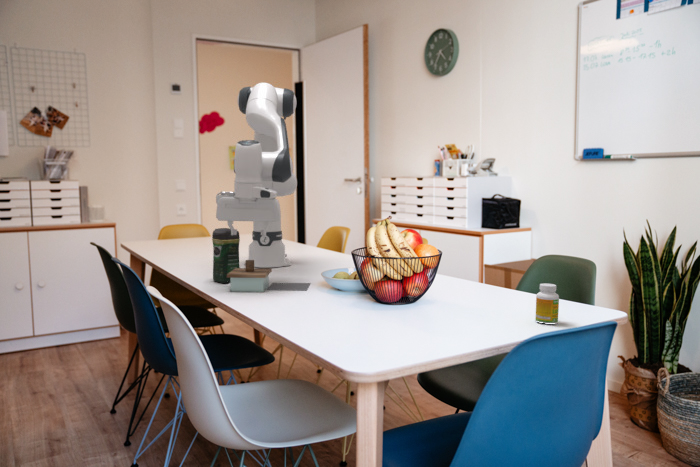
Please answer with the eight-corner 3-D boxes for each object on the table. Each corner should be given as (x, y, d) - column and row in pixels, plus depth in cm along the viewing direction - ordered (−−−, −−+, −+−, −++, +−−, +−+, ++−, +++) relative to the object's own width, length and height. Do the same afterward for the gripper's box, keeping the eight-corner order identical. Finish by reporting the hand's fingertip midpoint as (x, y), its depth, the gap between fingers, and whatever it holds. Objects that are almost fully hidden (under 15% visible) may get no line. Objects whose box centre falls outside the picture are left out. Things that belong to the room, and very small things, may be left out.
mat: (272, 283, 195) (272, 282, 194) (310, 284, 194) (310, 283, 194) (265, 291, 182) (265, 290, 182) (306, 292, 181) (306, 290, 181)
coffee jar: (244, 282, 198) (243, 228, 196) (223, 284, 192) (222, 229, 190) (229, 278, 205) (228, 226, 203) (209, 280, 199) (208, 227, 197)
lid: (235, 271, 190) (235, 257, 189) (271, 271, 190) (271, 258, 189) (226, 277, 178) (226, 263, 177) (265, 277, 178) (265, 263, 177)
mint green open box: (237, 286, 189) (237, 271, 189) (268, 286, 189) (268, 271, 189) (230, 292, 179) (230, 277, 179) (263, 293, 179) (262, 277, 178)
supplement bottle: (555, 326, 141) (556, 287, 140) (533, 323, 144) (534, 285, 143) (559, 321, 146) (561, 284, 145) (538, 318, 149) (539, 282, 148)
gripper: (213, 191, 178) (213, 235, 180) (278, 193, 178) (278, 237, 179) (218, 190, 185) (218, 233, 186) (281, 192, 184) (281, 234, 186)
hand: (248, 235), depth 183 cm, fingers open, 8 cm apart
